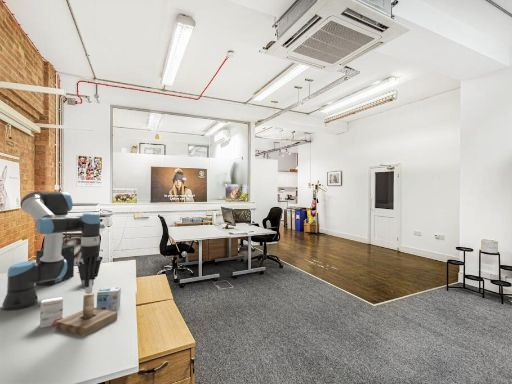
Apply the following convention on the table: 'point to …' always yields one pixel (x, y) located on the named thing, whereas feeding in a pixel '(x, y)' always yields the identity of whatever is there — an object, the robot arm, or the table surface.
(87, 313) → the peg
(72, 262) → the headset box
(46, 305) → the ink box
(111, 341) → the table surface
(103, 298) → the light bulb box
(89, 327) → the board
